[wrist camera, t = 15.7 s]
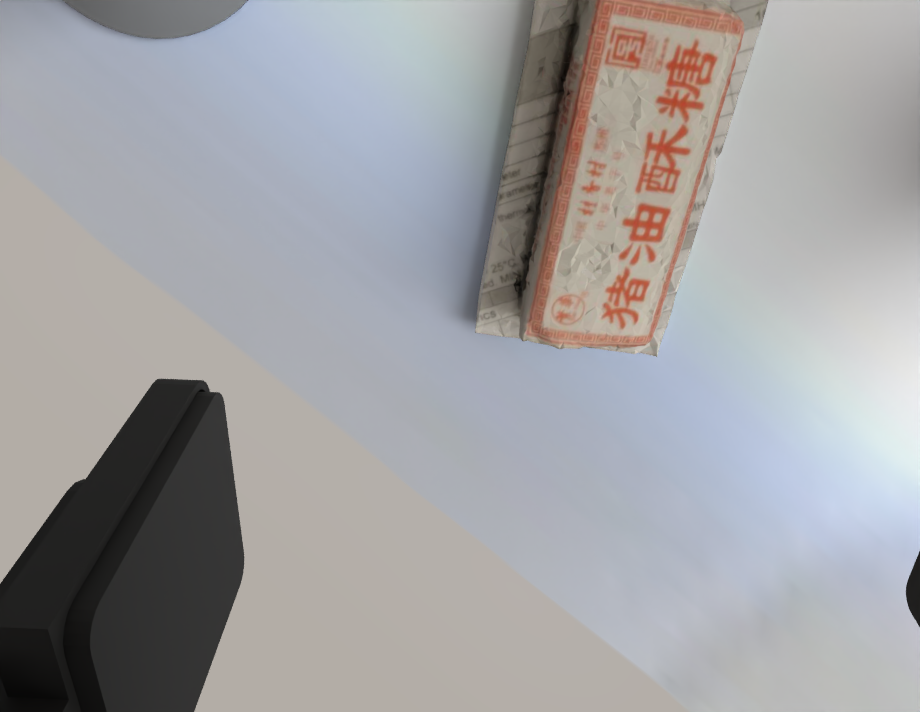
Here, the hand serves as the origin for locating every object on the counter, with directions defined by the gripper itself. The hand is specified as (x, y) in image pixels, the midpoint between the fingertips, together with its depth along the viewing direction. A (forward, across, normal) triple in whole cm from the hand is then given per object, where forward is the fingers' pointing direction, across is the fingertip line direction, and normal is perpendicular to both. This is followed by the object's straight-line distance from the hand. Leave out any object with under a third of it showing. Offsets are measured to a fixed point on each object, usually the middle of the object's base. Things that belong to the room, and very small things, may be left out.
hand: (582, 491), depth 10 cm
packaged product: (+31, -5, +5) cm, 32 cm away
